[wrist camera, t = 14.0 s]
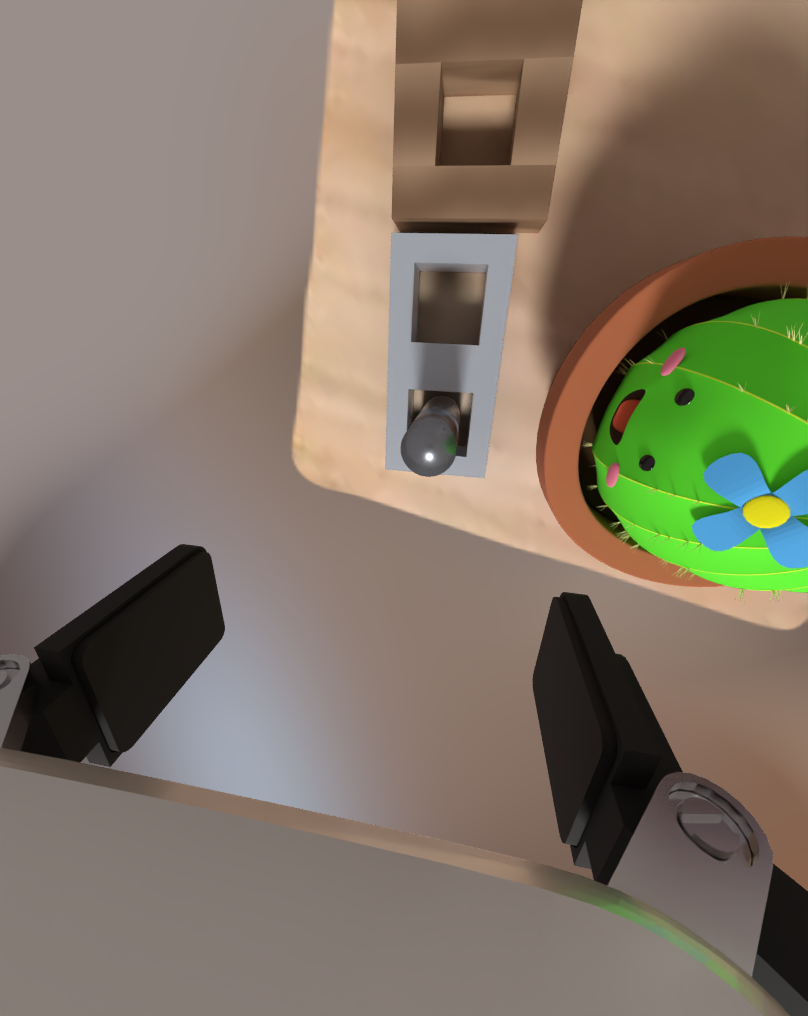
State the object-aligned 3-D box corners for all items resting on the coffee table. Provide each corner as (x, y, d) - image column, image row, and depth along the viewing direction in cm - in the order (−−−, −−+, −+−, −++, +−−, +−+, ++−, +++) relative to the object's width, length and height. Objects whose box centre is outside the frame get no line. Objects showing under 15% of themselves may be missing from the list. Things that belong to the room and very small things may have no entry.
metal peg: (423, 394, 39) (401, 419, 26) (462, 397, 38) (459, 423, 26) (420, 433, 41) (399, 473, 28) (458, 436, 40) (453, 478, 27)
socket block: (405, 41, 29) (397, -3, 25) (569, 33, 27) (585, -15, 24) (399, 231, 34) (391, 217, 30) (538, 232, 32) (547, 218, 29)
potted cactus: (834, 317, 31) (1781, 248, 9) (686, 538, 41) (961, 781, 18) (579, 247, 32) (845, 16, 10) (490, 479, 41) (518, 642, 19)
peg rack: (399, 244, 34) (391, 232, 30) (512, 246, 33) (518, 234, 29) (392, 458, 42) (385, 469, 39) (482, 466, 41) (484, 478, 37)
